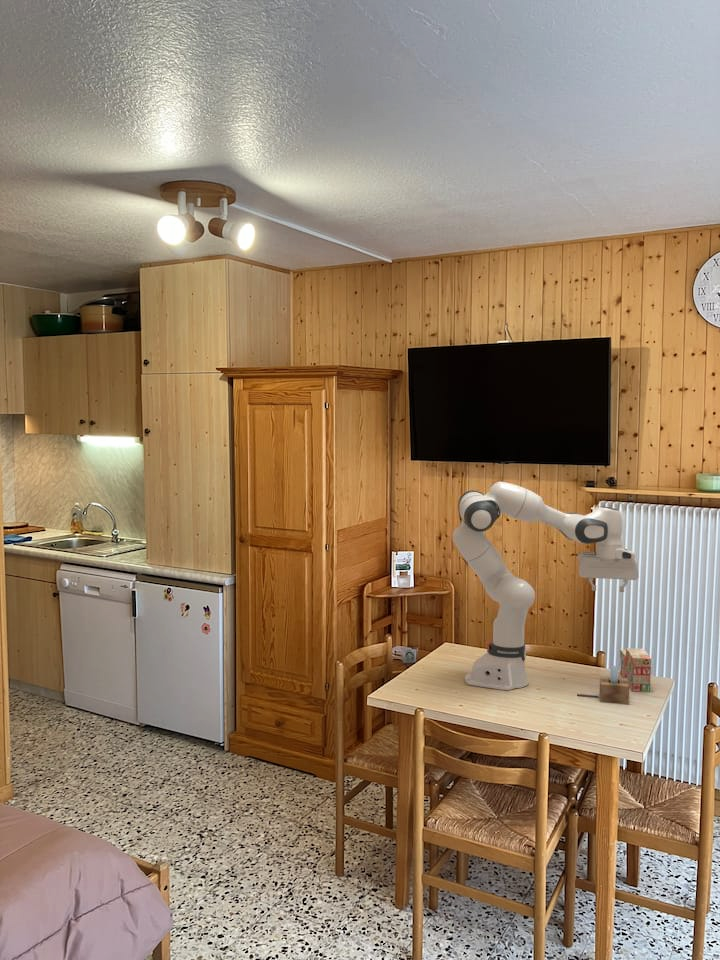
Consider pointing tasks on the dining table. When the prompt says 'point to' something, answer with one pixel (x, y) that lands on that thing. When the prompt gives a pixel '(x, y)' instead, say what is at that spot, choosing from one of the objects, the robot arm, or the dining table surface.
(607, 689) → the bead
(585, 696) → the lace
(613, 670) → the blue-grey upright bar
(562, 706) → the dining table surface
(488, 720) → the dining table surface
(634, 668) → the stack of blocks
